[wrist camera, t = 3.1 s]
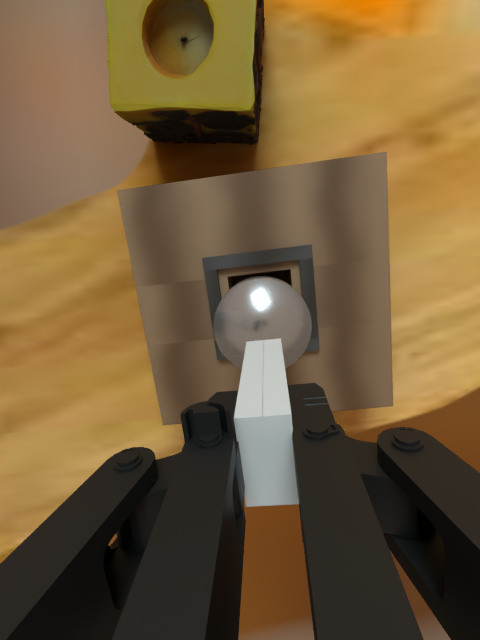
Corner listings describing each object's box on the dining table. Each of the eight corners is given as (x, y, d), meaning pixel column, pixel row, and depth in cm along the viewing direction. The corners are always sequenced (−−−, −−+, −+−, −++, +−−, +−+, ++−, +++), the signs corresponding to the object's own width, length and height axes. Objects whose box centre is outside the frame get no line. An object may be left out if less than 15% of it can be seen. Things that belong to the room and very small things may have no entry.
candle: (264, 18, 31) (266, -77, 21) (260, 146, 34) (259, 112, 24) (148, 18, 32) (98, -74, 22) (152, 144, 34) (108, 111, 24)
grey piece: (231, 338, 31) (220, 377, 23) (221, 269, 30) (206, 285, 22) (301, 331, 31) (315, 369, 22) (295, 260, 29) (307, 273, 21)
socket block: (182, 387, 40) (161, 428, 32) (149, 198, 35) (114, 189, 27) (366, 370, 38) (395, 409, 30) (357, 169, 33) (388, 150, 25)
